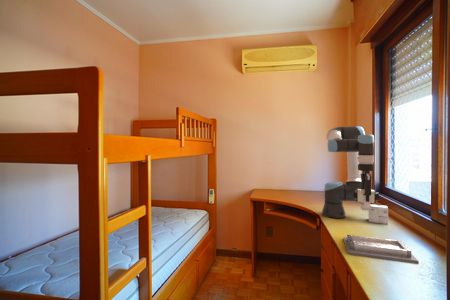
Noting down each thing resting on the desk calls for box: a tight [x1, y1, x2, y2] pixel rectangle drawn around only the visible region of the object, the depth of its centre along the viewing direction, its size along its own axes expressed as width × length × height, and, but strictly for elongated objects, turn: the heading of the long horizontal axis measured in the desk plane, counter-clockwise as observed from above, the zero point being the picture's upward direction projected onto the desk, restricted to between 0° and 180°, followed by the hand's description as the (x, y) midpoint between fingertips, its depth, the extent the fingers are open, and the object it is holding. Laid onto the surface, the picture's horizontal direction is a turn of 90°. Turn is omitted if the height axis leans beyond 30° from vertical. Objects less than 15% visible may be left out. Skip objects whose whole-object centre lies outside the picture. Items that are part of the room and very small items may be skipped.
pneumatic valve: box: [353, 189, 380, 212], centre depth 127 cm, size 6×12×12 cm, turn 61°
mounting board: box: [342, 236, 420, 264], centre depth 111 cm, size 19×26×1 cm
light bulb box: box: [368, 203, 389, 225], centre depth 153 cm, size 11×7×11 cm, turn 59°
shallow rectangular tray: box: [346, 234, 412, 257], centre depth 111 cm, size 12×23×2 cm, turn 70°
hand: (365, 206), depth 127 cm, fingers closed on pneumatic valve, 5 cm apart
